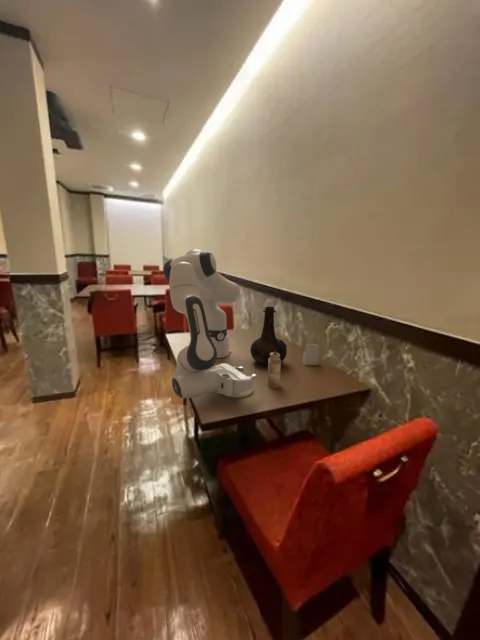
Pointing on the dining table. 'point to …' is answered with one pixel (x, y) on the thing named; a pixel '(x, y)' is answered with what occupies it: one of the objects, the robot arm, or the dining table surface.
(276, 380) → the pepper mill
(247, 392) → the cream plate
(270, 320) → the glass bottle
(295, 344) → the dining table surface
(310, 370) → the dining table surface
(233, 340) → the dining table surface
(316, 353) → the white box
